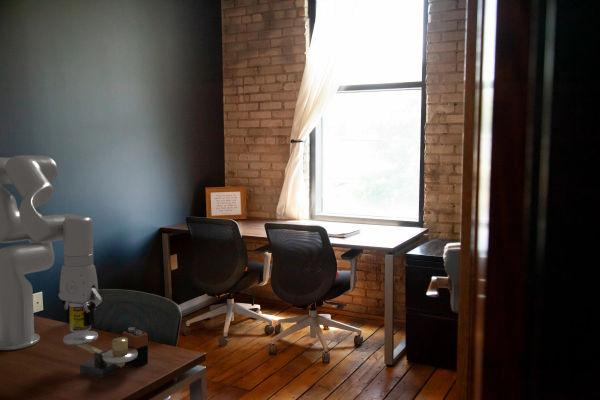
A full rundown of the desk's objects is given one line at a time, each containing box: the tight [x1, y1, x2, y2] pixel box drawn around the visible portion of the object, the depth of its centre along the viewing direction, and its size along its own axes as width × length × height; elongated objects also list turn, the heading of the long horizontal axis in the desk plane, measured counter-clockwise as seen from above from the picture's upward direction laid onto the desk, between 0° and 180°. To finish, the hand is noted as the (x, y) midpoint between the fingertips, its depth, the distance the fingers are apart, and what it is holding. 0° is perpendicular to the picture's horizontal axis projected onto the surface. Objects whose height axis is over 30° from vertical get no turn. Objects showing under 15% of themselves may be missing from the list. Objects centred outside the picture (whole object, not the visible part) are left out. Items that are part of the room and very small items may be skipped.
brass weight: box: [111, 336, 128, 357], centre depth 131 cm, size 4×4×4 cm
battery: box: [122, 326, 149, 368], centre depth 139 cm, size 4×7×10 cm, turn 52°
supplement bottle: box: [69, 302, 92, 333], centre depth 135 cm, size 6×6×10 cm
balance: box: [62, 330, 138, 379], centre depth 134 cm, size 23×9×9 cm, turn 69°
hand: (80, 322), depth 135 cm, fingers closed on supplement bottle, 5 cm apart
